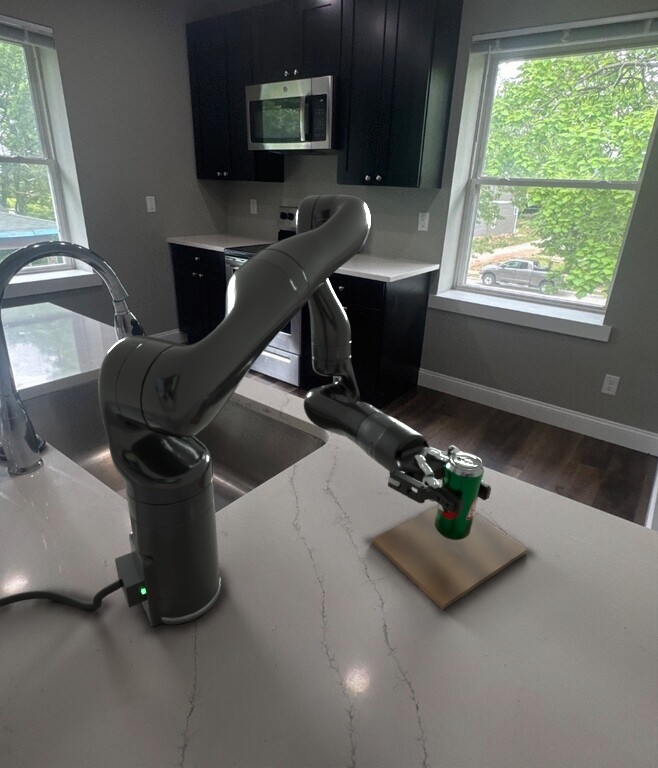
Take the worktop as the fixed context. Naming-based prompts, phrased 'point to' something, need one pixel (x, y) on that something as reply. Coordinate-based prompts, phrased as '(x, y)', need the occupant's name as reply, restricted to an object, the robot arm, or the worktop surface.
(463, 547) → the wooden board
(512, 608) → the worktop surface
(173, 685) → the worktop surface
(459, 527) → the soda can
